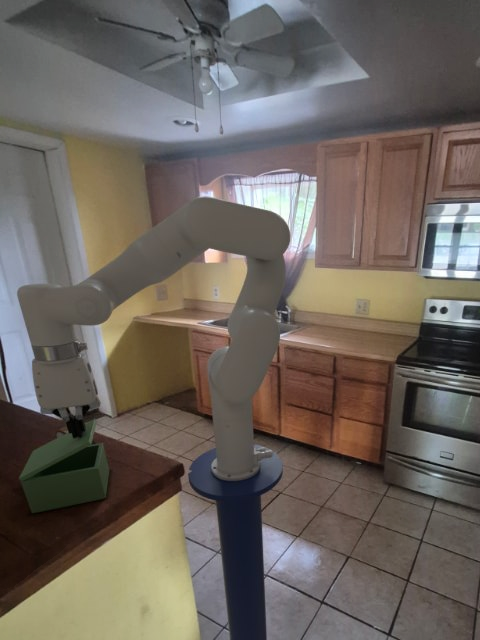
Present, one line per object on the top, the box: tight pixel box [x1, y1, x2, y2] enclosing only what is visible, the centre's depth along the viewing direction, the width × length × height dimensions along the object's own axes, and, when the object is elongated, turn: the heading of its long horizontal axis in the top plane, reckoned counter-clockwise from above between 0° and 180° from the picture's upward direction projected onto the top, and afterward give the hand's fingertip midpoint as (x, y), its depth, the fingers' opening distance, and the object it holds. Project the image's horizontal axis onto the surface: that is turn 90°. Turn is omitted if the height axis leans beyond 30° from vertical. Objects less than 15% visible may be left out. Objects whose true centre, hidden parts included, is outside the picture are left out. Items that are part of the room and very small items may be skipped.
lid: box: [18, 418, 98, 482], centre depth 78 cm, size 14×11×1 cm
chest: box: [20, 442, 110, 514], centre depth 81 cm, size 14×11×8 cm
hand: (78, 434), depth 78 cm, fingers closed
